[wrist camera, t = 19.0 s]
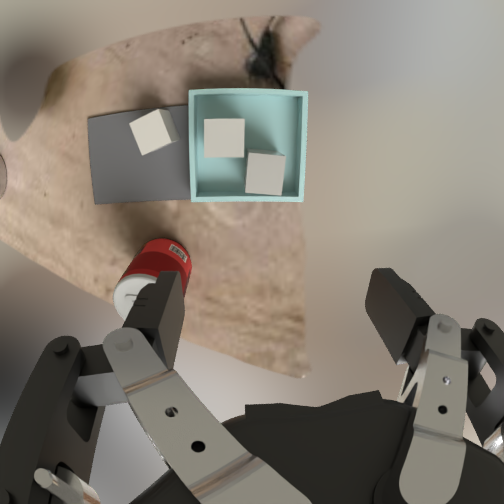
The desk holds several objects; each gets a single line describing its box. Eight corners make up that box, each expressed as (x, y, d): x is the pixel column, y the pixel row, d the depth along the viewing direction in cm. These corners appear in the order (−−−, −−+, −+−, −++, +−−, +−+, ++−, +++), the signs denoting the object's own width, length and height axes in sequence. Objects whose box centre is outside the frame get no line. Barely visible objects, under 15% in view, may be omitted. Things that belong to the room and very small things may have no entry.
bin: (195, 195, 36) (191, 202, 33) (193, 92, 30) (188, 90, 27) (297, 195, 36) (303, 201, 34) (302, 94, 31) (308, 91, 28)
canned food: (137, 234, 38) (107, 273, 28) (192, 237, 38) (178, 279, 28) (141, 282, 41) (118, 328, 31) (193, 286, 42) (181, 336, 32)
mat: (96, 203, 35) (95, 204, 35) (89, 118, 30) (87, 118, 30) (192, 198, 36) (191, 199, 36) (189, 105, 31) (189, 105, 31)
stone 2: (209, 152, 33) (204, 157, 28) (209, 119, 31) (204, 119, 26) (242, 151, 33) (244, 157, 28) (243, 119, 32) (244, 118, 26)
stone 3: (243, 181, 35) (245, 192, 29) (246, 148, 33) (248, 152, 28) (274, 183, 35) (281, 195, 30) (278, 150, 33) (286, 156, 28)
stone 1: (154, 150, 33) (142, 155, 28) (143, 122, 31) (129, 123, 26) (180, 139, 32) (171, 142, 28) (169, 110, 31) (158, 109, 26)
